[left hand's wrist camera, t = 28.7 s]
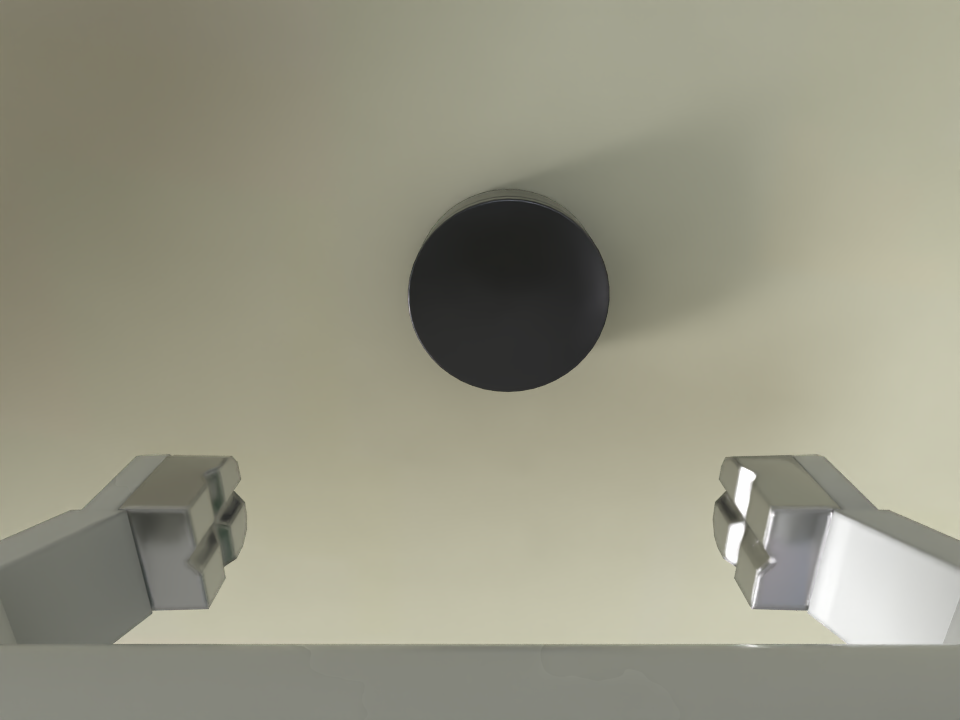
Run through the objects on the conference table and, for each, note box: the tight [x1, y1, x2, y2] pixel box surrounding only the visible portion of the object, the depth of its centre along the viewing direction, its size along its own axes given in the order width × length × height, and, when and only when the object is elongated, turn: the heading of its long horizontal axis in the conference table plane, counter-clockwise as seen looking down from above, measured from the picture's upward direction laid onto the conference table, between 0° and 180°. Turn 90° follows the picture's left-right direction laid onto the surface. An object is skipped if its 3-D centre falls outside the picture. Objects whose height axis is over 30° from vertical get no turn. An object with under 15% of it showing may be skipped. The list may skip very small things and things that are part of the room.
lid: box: [408, 189, 609, 392], centre depth 16 cm, size 5×5×2 cm
